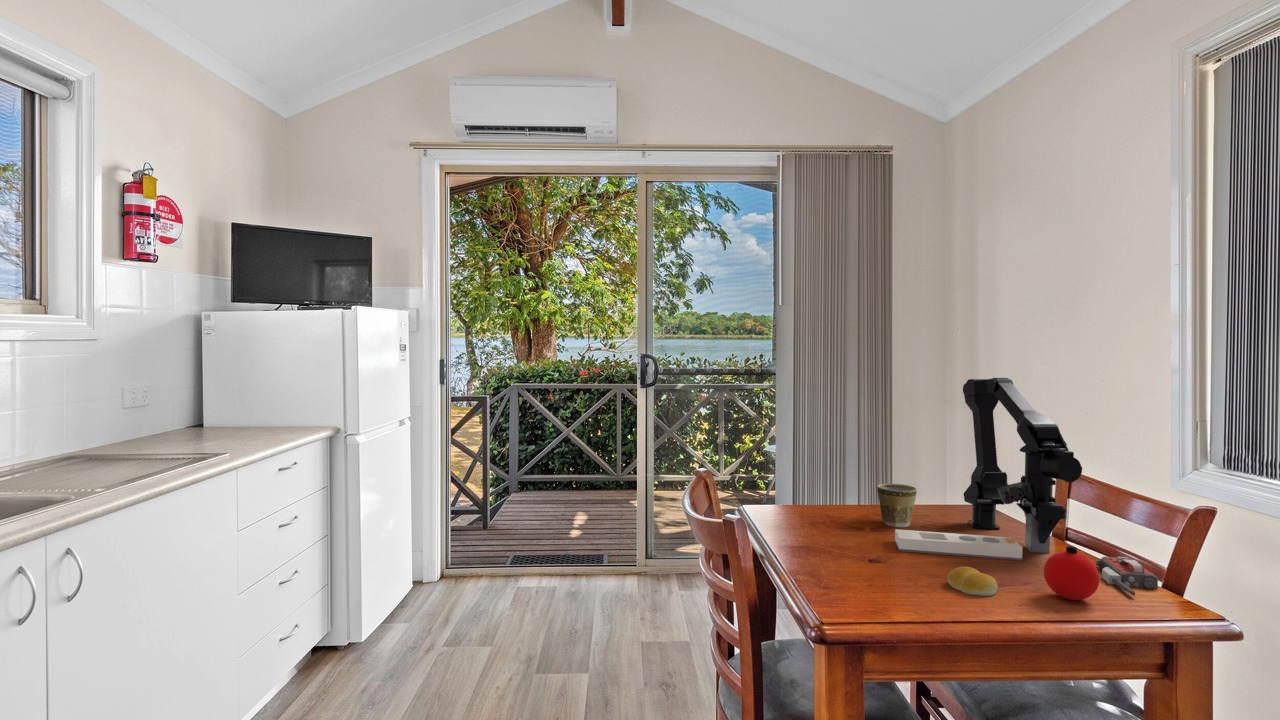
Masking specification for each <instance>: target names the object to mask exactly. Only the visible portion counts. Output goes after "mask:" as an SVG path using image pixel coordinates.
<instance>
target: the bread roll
mask: <svg viewBox="0 0 1280 720" xmlns="http://www.w3.org/2000/svg"><path fill="white" fill-rule="evenodd" d="M947 583H948V584H949V586H950V587H952V588H953V589H954V590H955V589H956V590H957V591H960V592H962V593H964V594H967V595H972V596H981V597H989V596H990V597H991V596H994V595H995V594H996V593H997V592H998V589H999V588H998V586H999V584H998V582H997V581H996V579H995V578H994V577H993V576H991V575H989V574H986V573H982V572H980V571H979V570H978V569H976V568H973V567H970V566H958V567H956V568H954V569H952V570H950V572H949V573H948V574H947Z"/></svg>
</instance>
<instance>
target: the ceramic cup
mask: <svg viewBox="0 0 1280 720" xmlns="http://www.w3.org/2000/svg"><path fill="white" fill-rule="evenodd" d="M876 487H877V488H876V490H877V496H878V500H879V507H880V513H881V518H882V519H881V520H882V523H883V524H884V525H886V526H888V527H893V528H906V527H909V526H910V525H911V522H912V521H911V520H912V517H913V511H914V507H915V502H916V498H917V491H918V490H917V487H914V486H911V485H907V484H902V483H901V484H900V483H881V484H878V485H877V486H876Z"/></svg>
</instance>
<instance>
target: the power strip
mask: <svg viewBox="0 0 1280 720" xmlns="http://www.w3.org/2000/svg"><path fill="white" fill-rule="evenodd" d="M894 543H895V545H896V548H897V550H898V551H899V552H908V553H920V554H921V553H922V554H933V555H947V556H956V557H957V556H958V557H973V558H984V559H996V560H1007V561H1008V560H1009V561H1023V546H1021V545H1020V543H1018V542H1017V541H1016V540H1015V539H1014V537H1009V536H1008V537H1007V536H992V535H981V534H980V535H979V534H967V533H966V534H965V533H964V534H963V533H952V532H940V531H939V532H938V531H937V532H936V531H924V530H922V531H921V530H913V529H912V530H909V529H908V530H907V529H897V528H895V529H894Z"/></svg>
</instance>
